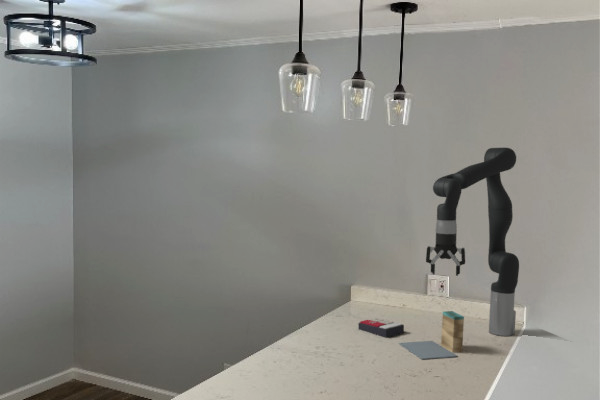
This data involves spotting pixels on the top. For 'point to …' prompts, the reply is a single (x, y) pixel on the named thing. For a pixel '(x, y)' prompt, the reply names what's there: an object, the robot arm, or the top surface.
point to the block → (452, 331)
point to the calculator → (381, 327)
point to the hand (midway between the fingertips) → (445, 274)
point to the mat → (427, 350)
